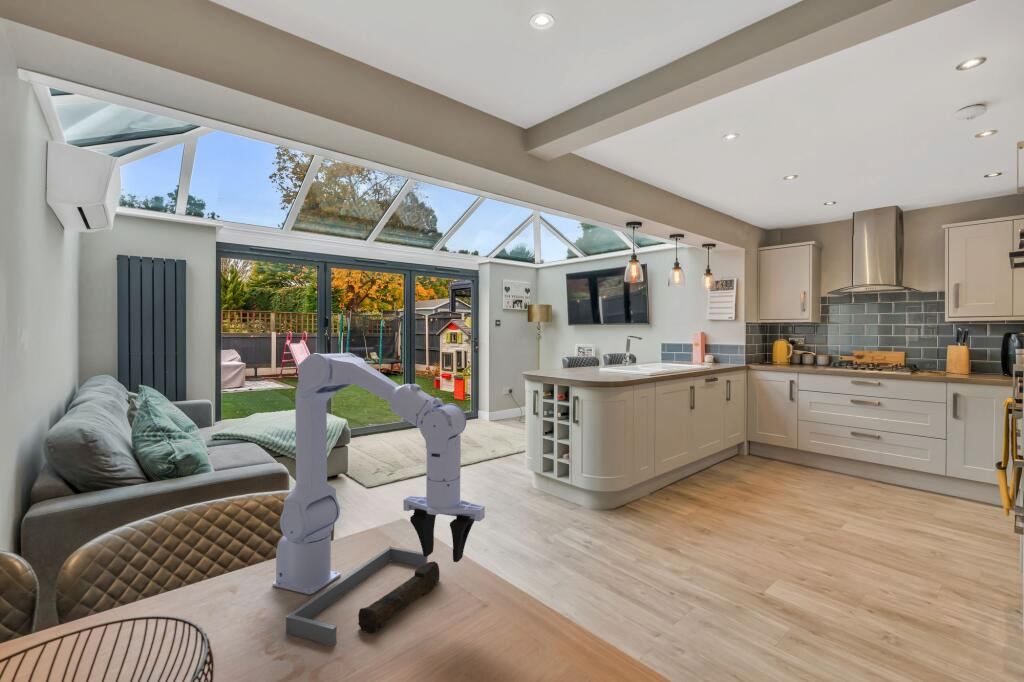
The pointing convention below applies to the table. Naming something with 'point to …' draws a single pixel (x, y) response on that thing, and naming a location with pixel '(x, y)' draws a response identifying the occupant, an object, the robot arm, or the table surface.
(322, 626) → the u-shaped bracket
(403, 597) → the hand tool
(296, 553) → the robot arm
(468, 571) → the table surface
